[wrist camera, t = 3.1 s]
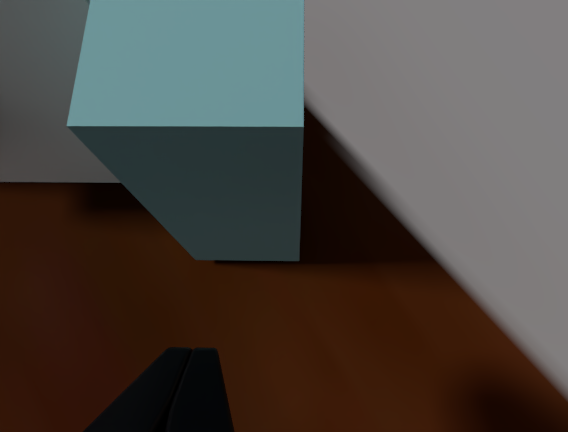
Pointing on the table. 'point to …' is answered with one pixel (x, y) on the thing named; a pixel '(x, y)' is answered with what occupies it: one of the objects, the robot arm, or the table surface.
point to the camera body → (42, 93)
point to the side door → (200, 117)
